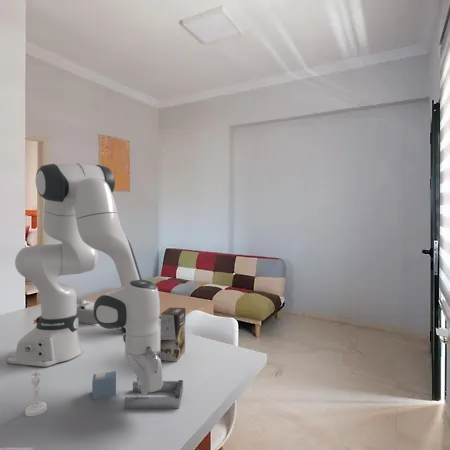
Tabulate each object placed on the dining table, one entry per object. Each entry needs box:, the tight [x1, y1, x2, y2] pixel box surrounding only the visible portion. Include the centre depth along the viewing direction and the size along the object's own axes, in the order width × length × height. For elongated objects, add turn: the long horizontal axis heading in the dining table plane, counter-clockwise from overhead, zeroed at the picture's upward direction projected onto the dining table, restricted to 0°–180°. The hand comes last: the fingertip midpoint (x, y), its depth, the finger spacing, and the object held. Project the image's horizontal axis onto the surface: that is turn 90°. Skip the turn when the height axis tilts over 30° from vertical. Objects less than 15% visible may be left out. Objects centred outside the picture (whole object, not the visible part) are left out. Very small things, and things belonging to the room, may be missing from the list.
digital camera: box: [77, 301, 98, 325], centre depth 150 cm, size 17×14×10 cm
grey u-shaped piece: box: [123, 379, 184, 410], centre depth 86 cm, size 14×9×3 cm, turn 91°
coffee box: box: [159, 307, 186, 363], centre depth 113 cm, size 9×6×16 cm
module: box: [91, 370, 117, 400], centre depth 88 cm, size 6×4×6 cm, turn 108°
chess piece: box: [24, 370, 48, 417], centre depth 80 cm, size 5×5×10 cm
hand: (143, 392), depth 86 cm, fingers closed
